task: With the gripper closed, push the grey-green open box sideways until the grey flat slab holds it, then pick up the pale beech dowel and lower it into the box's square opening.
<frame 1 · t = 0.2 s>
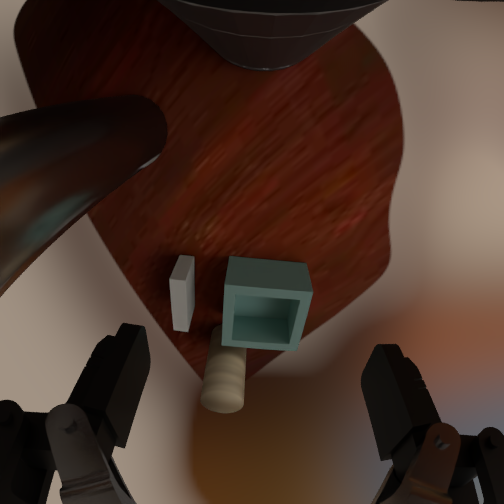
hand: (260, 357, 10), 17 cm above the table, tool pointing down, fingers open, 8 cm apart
grey flat slab: (187, 281, 30), on the table
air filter: (133, 131, 23), on the table
dowel: (229, 336, 33), on the table
grey-green open box: (263, 305, 28), point 2 cm above the table, slide at 0.0 cm
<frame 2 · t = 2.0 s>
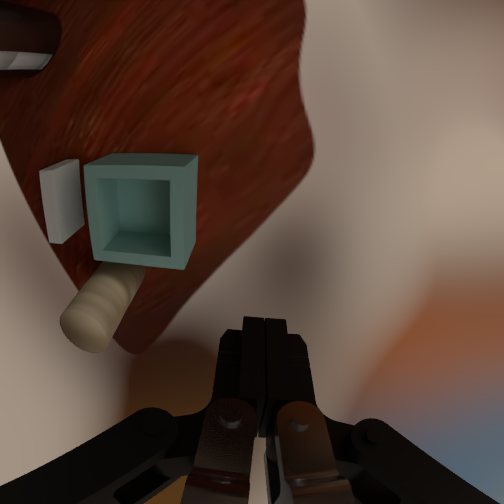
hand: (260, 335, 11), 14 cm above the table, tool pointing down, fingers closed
grey flat slab: (74, 192, 23), on the table
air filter: (36, 44, 16), on the table
dowel: (125, 268, 26), on the table
grey-green open box: (143, 206, 21), point 2 cm above the table, slide at 0.0 cm
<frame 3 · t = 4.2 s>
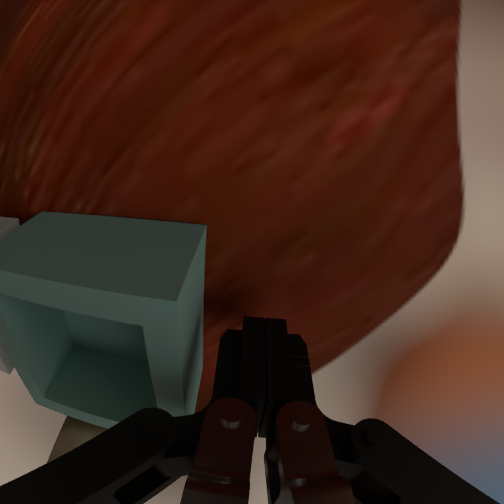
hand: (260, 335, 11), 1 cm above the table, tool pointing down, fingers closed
grey flat slab: (21, 273, 12), on the table
dowel: (118, 387, 15), on the table
grey-green open box: (101, 330, 10), point 2 cm above the table, slide at 1.7 cm, touching gripper
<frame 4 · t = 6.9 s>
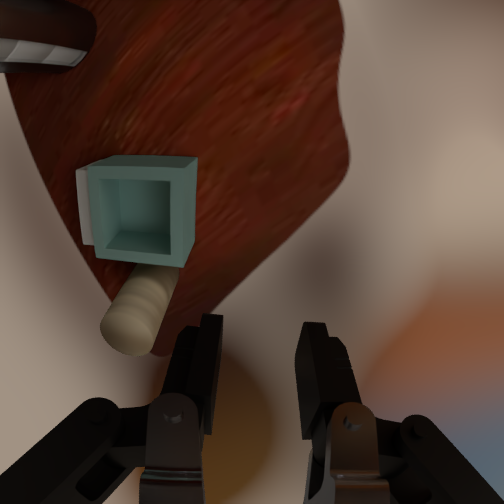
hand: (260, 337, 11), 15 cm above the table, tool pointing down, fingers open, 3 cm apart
grey flat slab: (108, 193, 24), on the table
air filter: (68, 40, 17), on the table
dowel: (158, 270, 27), on the table
grey-green open box: (144, 206, 22), point 2 cm above the table, slide at 3.3 cm
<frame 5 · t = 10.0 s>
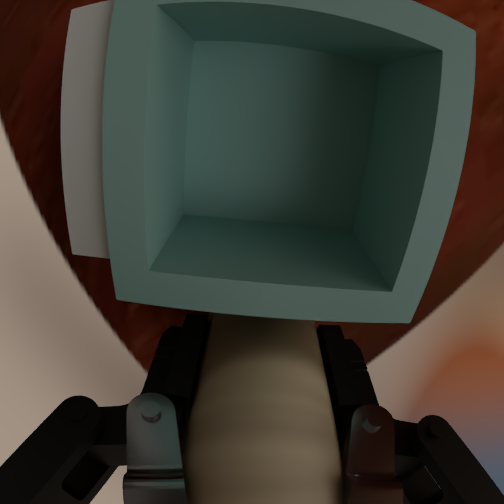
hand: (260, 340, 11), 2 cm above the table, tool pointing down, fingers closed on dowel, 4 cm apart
grey flat slab: (147, 119, 9), on the table
dowel: (260, 310, 12), on the table, touching gripper
grey-green open box: (284, 139, 7), point 2 cm above the table, slide at 3.3 cm
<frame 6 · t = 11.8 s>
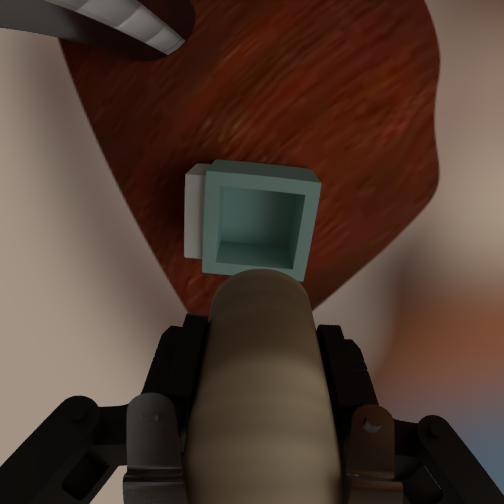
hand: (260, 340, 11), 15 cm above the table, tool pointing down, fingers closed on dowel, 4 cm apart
grey flat slab: (204, 200, 24), on the table
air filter: (155, 24, 17), on the table
dowel: (260, 311, 12), point 13 cm above the table, touching gripper
grey-green open box: (258, 218, 22), point 2 cm above the table, slide at 3.3 cm
when the fingers open (5 cm above the table, at t = 13.8 s): dowel drops 2 cm, resting on grey-green open box.
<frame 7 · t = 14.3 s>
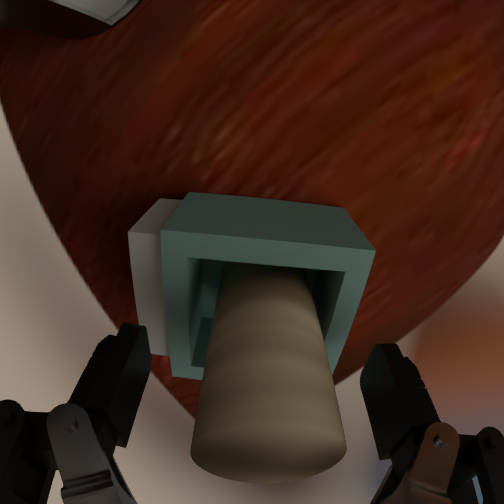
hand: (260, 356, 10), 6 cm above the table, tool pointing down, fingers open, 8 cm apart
grey flat slab: (174, 256, 15), on the table
dowel: (264, 279, 14), point 1 cm above the table, touching grey-green open box
grey-green open box: (259, 293, 13), point 2 cm above the table, slide at 3.3 cm, touching dowel
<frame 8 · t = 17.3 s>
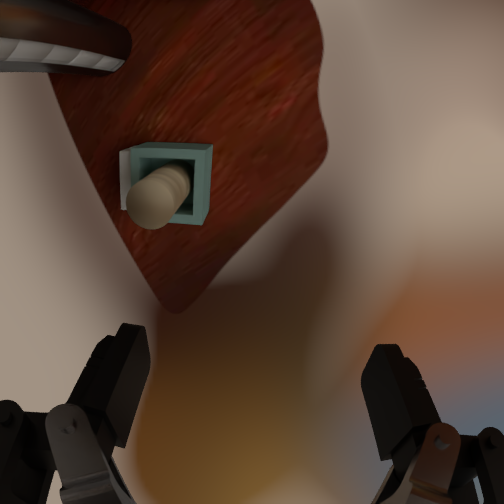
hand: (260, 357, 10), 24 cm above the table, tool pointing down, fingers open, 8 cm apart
grey flat slab: (140, 172, 31), on the table
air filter: (107, 49, 24), on the table
dowel: (177, 178, 30), point 1 cm above the table, touching grey-green open box
grey-green open box: (172, 180, 29), point 2 cm above the table, slide at 3.3 cm, touching dowel
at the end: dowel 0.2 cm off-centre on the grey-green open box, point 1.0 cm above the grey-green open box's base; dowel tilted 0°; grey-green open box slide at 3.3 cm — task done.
